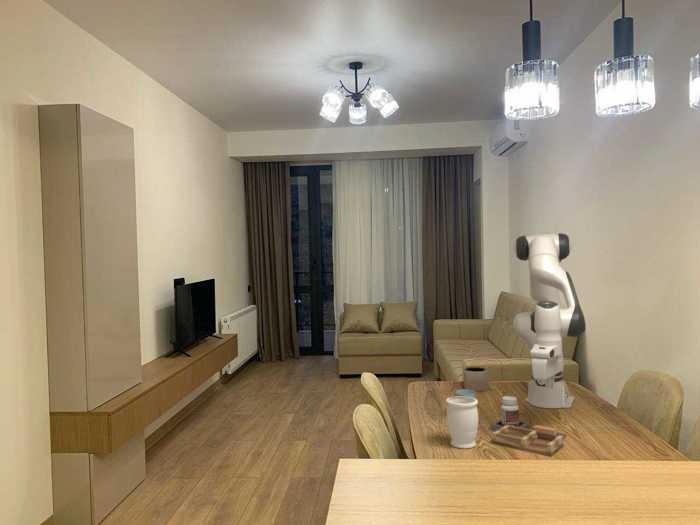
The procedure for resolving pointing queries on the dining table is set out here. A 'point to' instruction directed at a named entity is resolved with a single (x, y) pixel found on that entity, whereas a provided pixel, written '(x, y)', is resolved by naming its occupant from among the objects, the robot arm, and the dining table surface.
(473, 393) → the cup
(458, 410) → the jar
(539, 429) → the pink rectangular block
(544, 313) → the robot arm
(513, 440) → the rack
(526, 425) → the socket collar
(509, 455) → the dining table surface
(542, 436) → the grey metal lipped plate
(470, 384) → the planter
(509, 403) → the pill bottle
